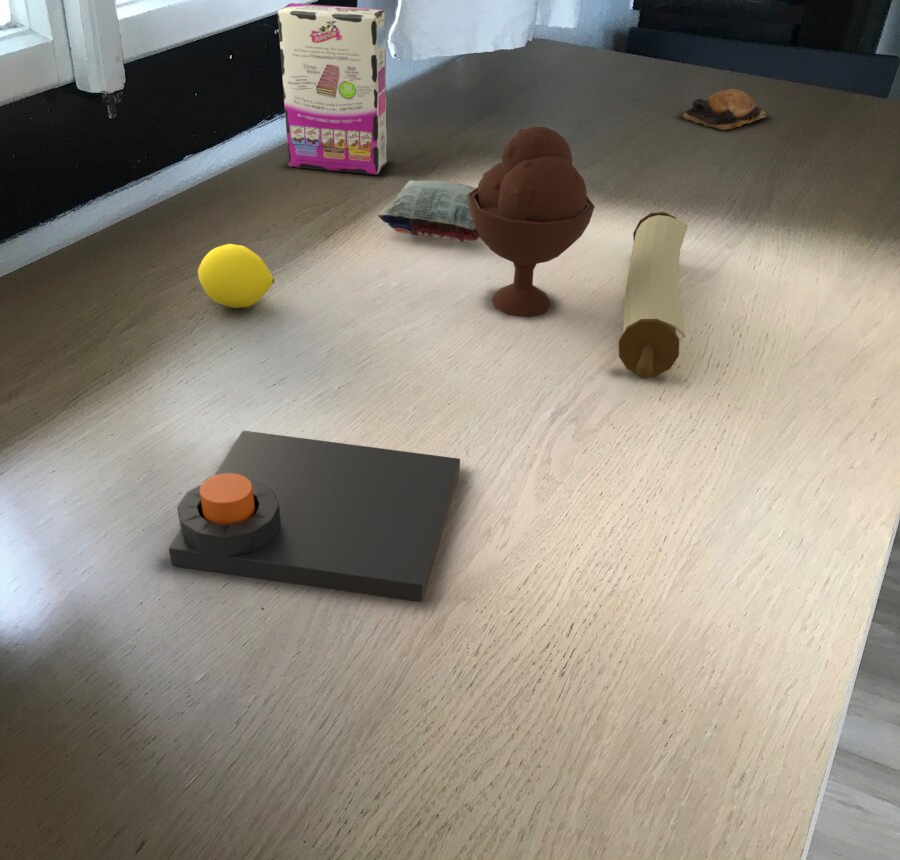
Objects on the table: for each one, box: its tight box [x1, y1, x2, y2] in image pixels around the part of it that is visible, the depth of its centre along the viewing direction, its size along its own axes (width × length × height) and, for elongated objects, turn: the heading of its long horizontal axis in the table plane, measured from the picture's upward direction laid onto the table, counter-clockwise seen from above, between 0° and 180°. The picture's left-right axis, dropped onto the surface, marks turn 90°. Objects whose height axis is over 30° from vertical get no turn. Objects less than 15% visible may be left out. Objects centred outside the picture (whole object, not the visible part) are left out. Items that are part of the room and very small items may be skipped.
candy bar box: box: [277, 2, 388, 176], centre depth 112 cm, size 11×5×16 cm, turn 80°
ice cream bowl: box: [467, 126, 596, 317], centre depth 87 cm, size 11×11×15 cm
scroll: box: [618, 211, 689, 380], centre depth 89 cm, size 32×6×5 cm, turn 168°
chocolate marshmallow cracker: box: [681, 88, 766, 131], centre depth 138 cm, size 11×8×4 cm
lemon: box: [197, 243, 275, 309], centre depth 87 cm, size 7×5×5 cm
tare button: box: [199, 473, 255, 525], centre depth 61 cm, size 3×3×2 cm
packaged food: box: [377, 179, 481, 243], centre depth 102 cm, size 9×12×5 cm
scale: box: [168, 430, 461, 602], centre depth 65 cm, size 16×14×3 cm
